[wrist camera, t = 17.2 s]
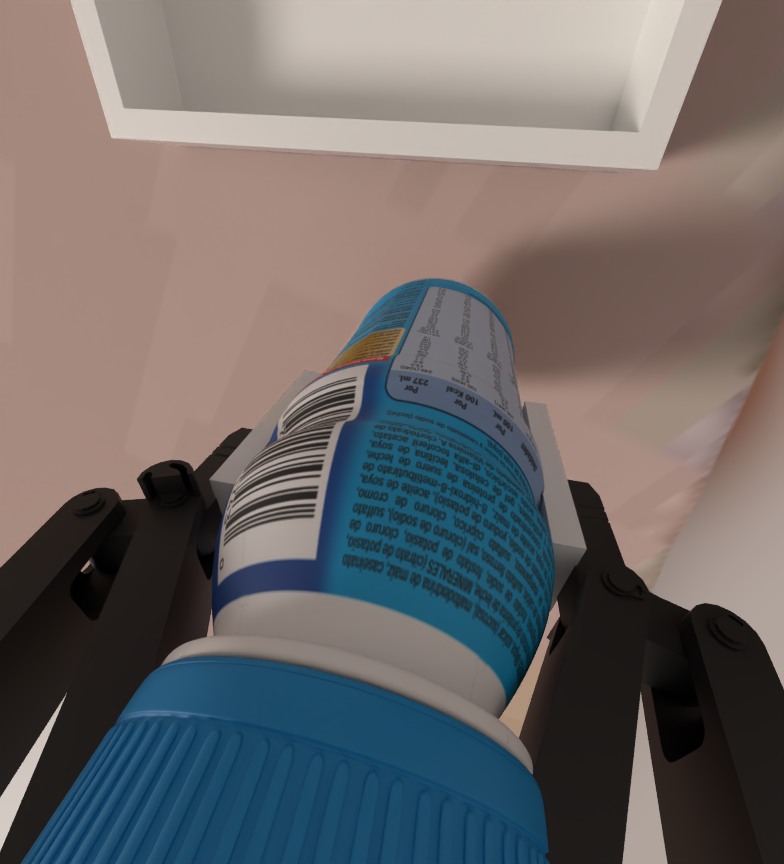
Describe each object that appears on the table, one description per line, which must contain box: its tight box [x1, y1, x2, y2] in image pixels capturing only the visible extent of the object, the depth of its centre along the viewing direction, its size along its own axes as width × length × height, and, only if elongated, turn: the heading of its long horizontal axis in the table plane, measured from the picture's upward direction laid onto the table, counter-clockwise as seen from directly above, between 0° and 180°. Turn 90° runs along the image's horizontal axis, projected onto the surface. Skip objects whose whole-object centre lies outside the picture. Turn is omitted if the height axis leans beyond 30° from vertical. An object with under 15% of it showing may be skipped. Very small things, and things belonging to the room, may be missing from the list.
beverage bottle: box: [21, 278, 555, 864], centre depth 12 cm, size 8×8×20 cm
